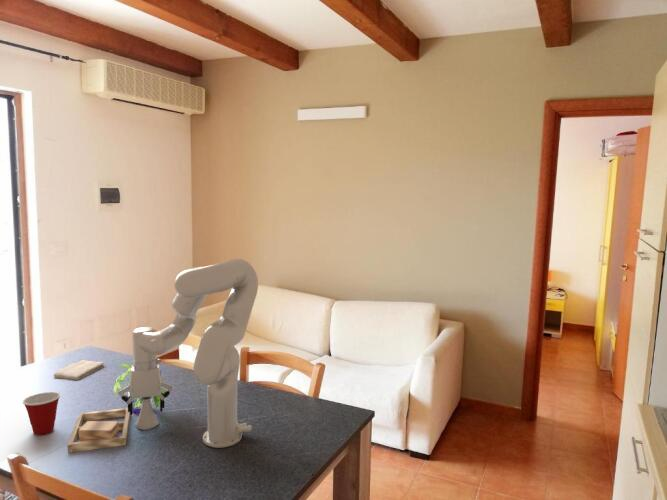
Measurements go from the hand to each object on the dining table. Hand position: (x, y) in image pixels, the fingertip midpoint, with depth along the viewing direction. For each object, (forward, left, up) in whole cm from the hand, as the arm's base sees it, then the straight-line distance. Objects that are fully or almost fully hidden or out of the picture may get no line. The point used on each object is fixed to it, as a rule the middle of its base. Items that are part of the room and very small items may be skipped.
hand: (146, 411), depth 169 cm
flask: (0, 0, -5) cm, 5 cm away
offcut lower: (+14, +8, -5) cm, 17 cm away
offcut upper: (+14, +8, -2) cm, 16 cm away
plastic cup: (+32, -5, -5) cm, 33 cm away
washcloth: (+29, -58, -6) cm, 65 cm away
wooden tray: (+14, +1, -5) cm, 15 cm away
